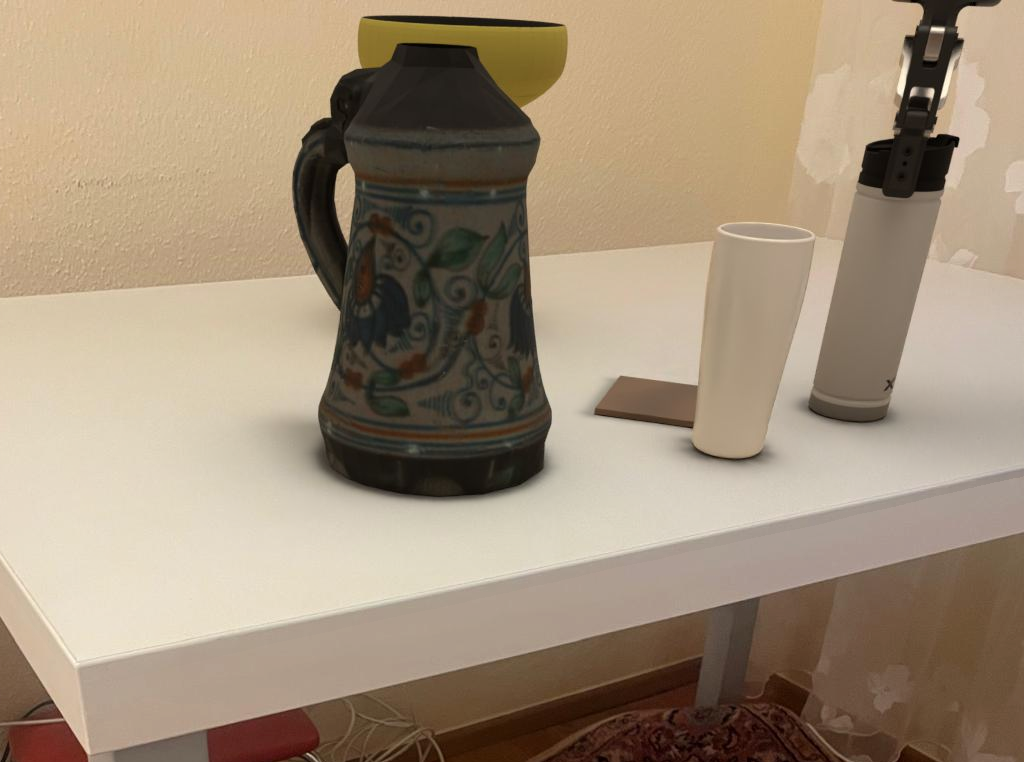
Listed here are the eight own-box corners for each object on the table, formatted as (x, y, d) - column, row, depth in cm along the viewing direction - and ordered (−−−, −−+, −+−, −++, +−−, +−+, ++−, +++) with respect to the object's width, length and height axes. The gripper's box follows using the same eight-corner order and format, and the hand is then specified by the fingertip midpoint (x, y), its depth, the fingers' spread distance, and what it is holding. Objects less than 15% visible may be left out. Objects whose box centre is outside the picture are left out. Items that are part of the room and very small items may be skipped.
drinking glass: (716, 428, 93) (753, 218, 85) (790, 452, 89) (837, 234, 81) (662, 445, 90) (695, 227, 81) (737, 471, 86) (780, 244, 77)
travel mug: (904, 421, 96) (979, 140, 85) (828, 423, 95) (893, 139, 84) (868, 398, 101) (934, 130, 90) (795, 399, 100) (853, 128, 89)
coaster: (736, 396, 101) (737, 390, 100) (720, 431, 93) (721, 424, 93) (619, 381, 103) (620, 375, 103) (594, 414, 95) (594, 407, 95)
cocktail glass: (401, 358, 107) (408, 25, 92) (330, 310, 120) (327, 13, 105) (577, 342, 113) (609, 28, 98) (491, 299, 126) (508, 17, 112)
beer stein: (535, 509, 78) (576, 62, 64) (250, 481, 81) (227, 45, 66) (557, 430, 92) (594, 46, 77) (311, 408, 94) (303, 31, 80)
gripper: (1030, -84, 73) (952, 208, 82) (1016, -75, 84) (949, 181, 93) (902, -88, 75) (840, 198, 84) (906, -80, 86) (850, 172, 95)
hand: (897, 189), depth 89 cm, fingers open, 8 cm apart
